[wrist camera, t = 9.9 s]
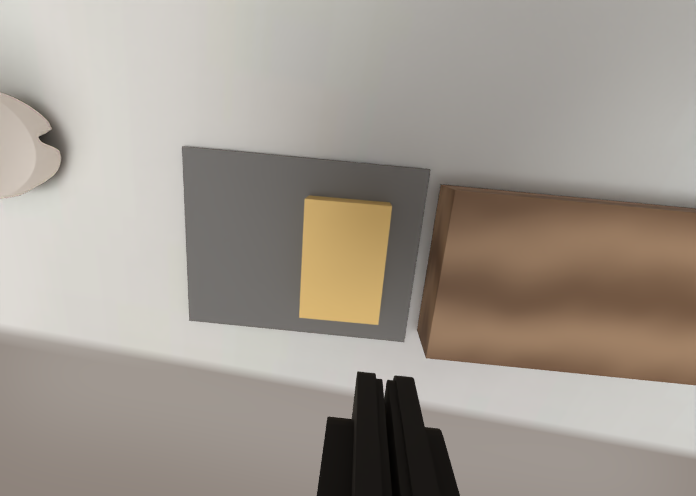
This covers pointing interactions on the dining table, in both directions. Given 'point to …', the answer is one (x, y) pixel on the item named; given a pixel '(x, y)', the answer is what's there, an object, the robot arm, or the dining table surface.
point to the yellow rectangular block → (343, 259)
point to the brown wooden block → (562, 285)
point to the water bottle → (23, 148)
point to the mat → (287, 236)
